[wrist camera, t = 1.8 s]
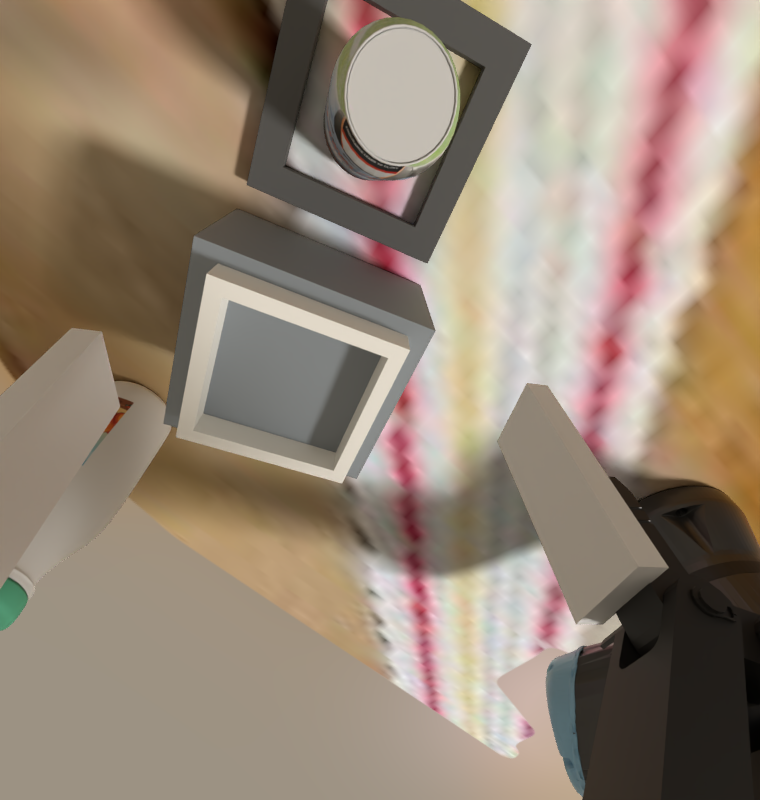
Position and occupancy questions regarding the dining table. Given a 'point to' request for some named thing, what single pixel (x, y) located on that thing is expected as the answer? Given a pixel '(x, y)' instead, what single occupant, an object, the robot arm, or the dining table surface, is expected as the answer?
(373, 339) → the tray
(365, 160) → the beverage can
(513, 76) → the gray square frame
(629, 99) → the dining table surface
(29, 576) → the milk bottle
